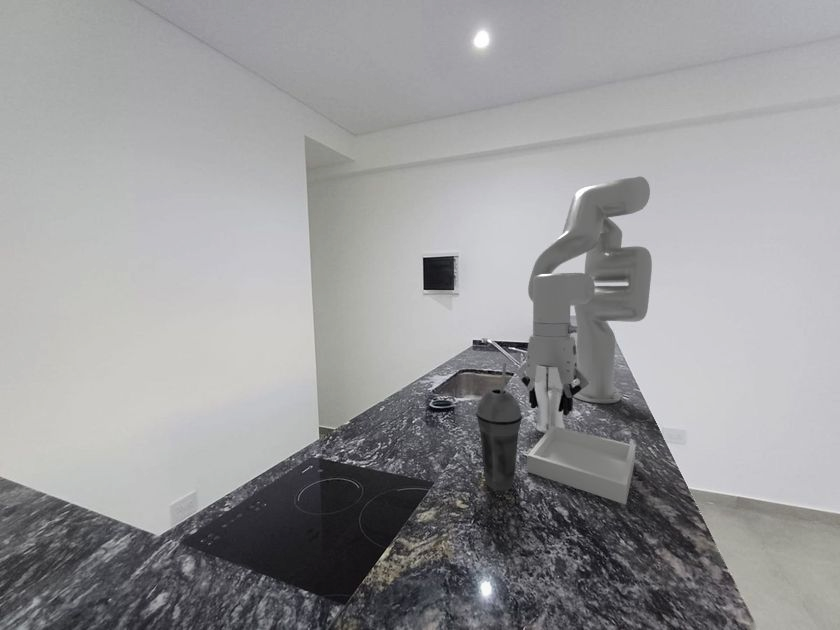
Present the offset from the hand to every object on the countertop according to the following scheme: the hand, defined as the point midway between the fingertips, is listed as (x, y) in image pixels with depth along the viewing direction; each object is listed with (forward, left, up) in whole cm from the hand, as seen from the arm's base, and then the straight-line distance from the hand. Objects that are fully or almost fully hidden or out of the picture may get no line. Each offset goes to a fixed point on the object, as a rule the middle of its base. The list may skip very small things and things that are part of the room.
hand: (550, 409), depth 72 cm
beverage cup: (+25, -1, -5) cm, 25 cm away
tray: (+12, +9, -5) cm, 16 cm away
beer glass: (0, 0, -5) cm, 5 cm away
